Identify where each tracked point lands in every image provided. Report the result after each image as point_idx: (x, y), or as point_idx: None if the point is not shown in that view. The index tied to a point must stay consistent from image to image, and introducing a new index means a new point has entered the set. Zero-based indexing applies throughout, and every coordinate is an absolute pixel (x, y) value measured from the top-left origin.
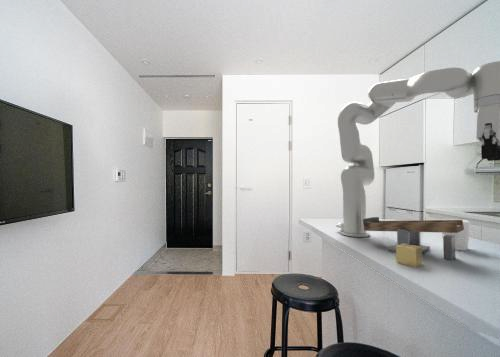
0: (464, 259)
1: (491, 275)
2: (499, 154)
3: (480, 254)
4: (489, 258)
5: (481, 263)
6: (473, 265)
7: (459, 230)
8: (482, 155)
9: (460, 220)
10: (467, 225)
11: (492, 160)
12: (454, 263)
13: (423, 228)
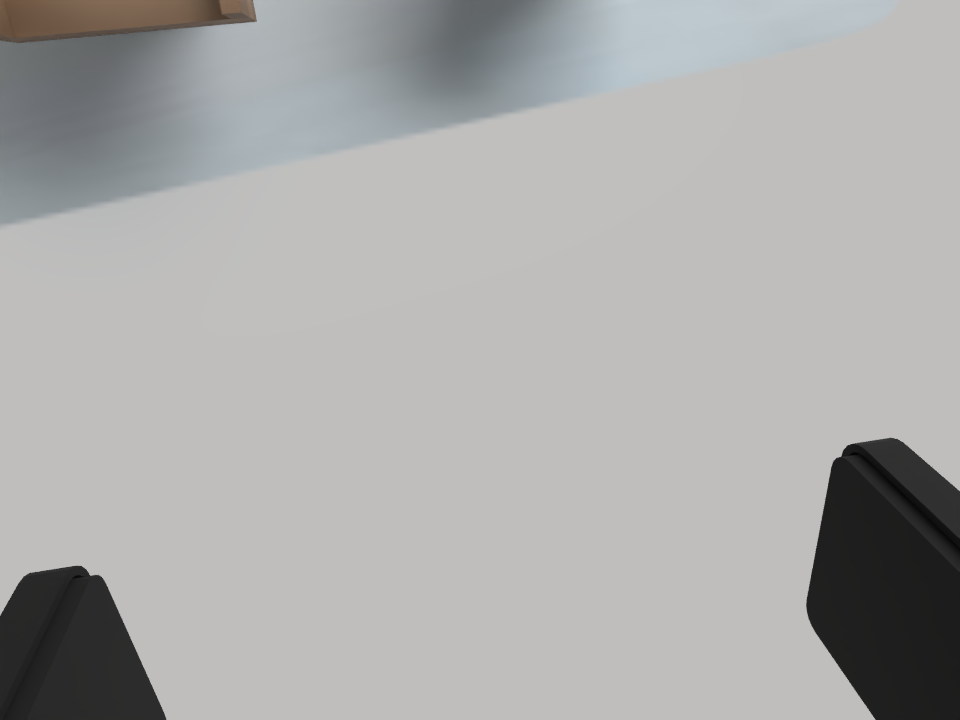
0: None
1: (46, 201)
2: (879, 707)
3: (484, 44)
4: (419, 106)
5: (246, 109)
6: (151, 95)
7: (89, 34)
8: (3, 645)
9: (222, 1)
10: None
11: (837, 508)
12: None
13: None
